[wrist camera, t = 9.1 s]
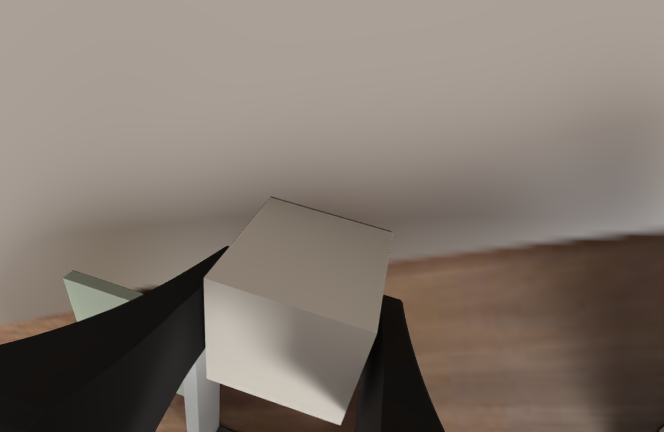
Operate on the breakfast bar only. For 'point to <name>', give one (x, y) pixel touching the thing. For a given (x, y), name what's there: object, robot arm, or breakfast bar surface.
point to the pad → (97, 297)
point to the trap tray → (223, 430)
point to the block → (296, 307)
